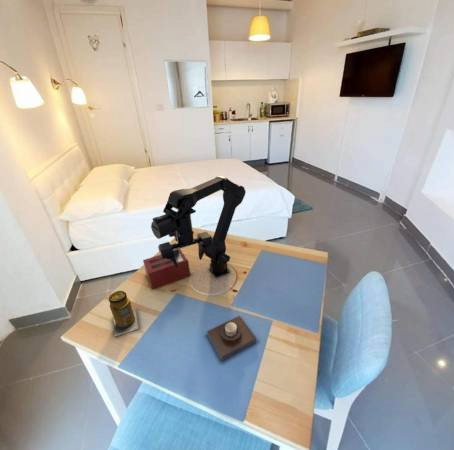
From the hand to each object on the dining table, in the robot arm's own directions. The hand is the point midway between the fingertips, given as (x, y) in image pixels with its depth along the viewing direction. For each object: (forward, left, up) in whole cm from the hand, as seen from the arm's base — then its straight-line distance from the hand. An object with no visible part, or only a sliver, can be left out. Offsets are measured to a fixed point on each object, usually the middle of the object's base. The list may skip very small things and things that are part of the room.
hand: (188, 263), depth 94 cm
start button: (-2, +28, -9) cm, 30 cm away
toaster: (+6, -13, -12) cm, 19 cm away
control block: (-2, +28, -12) cm, 31 cm away
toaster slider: (+1, -15, -4) cm, 16 cm away
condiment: (+26, +4, -12) cm, 29 cm away
